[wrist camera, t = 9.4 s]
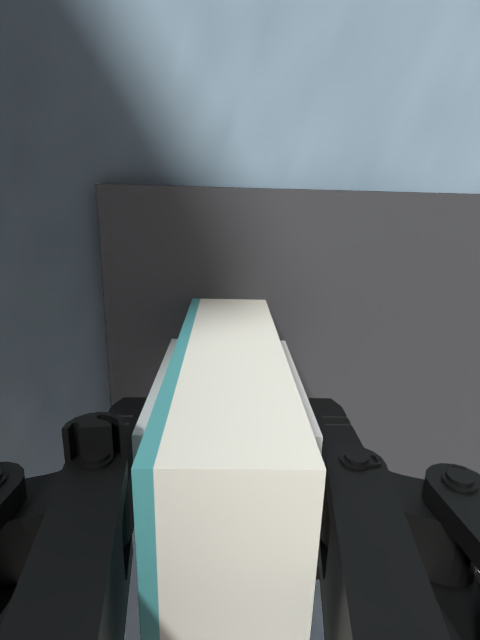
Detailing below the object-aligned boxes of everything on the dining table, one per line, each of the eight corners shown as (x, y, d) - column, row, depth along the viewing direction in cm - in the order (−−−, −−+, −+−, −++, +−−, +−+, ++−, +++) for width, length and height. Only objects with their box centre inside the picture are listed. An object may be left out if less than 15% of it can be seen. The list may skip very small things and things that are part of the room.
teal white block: (193, 430, 17) (146, 739, 7) (192, 298, 15) (130, 468, 6) (259, 431, 17) (300, 736, 7) (265, 299, 15) (326, 469, 6)
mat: (121, 494, 18) (118, 503, 18) (100, 184, 15) (95, 183, 14) (499, 495, 19) (507, 504, 18) (570, 196, 15) (583, 196, 15)
